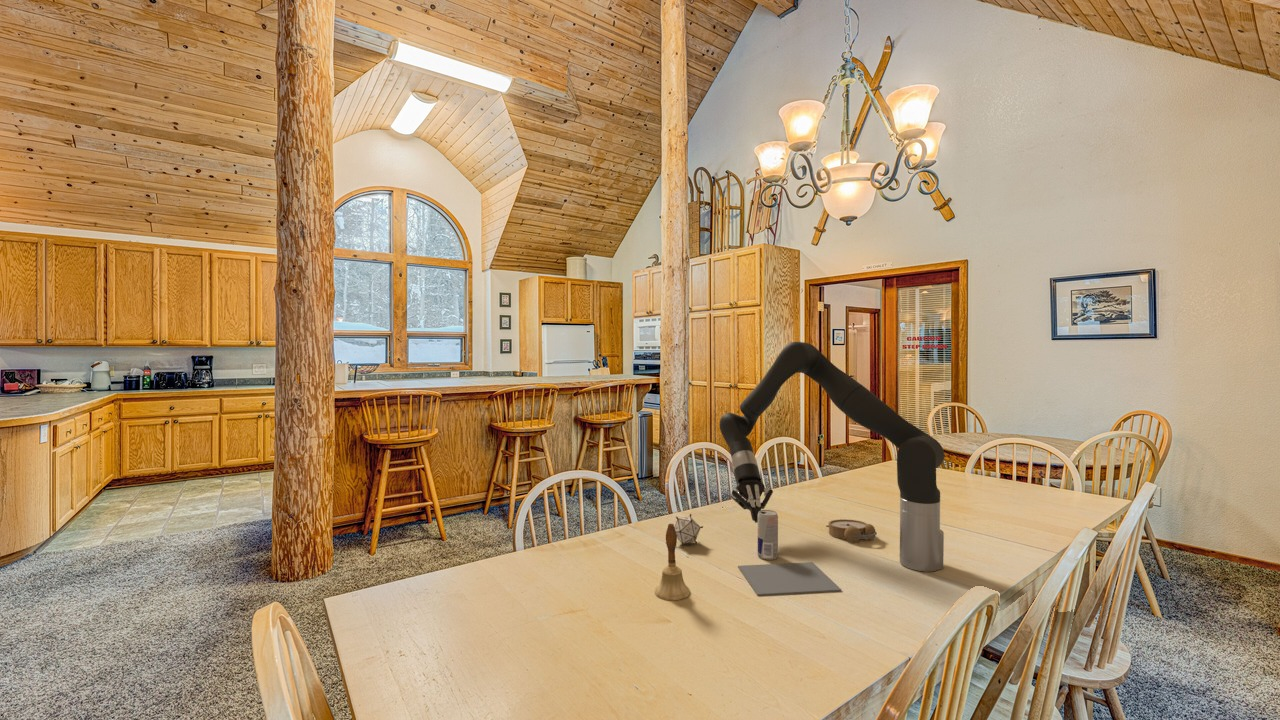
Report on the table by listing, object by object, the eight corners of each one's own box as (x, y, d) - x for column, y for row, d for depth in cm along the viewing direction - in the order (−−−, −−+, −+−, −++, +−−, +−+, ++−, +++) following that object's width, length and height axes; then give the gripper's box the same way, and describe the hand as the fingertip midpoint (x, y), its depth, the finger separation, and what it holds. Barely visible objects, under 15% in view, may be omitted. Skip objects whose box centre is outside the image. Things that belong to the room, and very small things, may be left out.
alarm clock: (849, 517, 170) (885, 523, 156) (851, 534, 170) (887, 541, 156) (820, 521, 167) (853, 528, 153) (821, 538, 166) (855, 546, 152)
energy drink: (763, 551, 150) (763, 508, 150) (781, 555, 147) (781, 512, 147) (754, 557, 146) (754, 513, 146) (772, 562, 143) (772, 516, 142)
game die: (692, 558, 155) (704, 537, 150) (664, 547, 155) (676, 526, 150) (696, 533, 163) (708, 512, 157) (669, 523, 163) (680, 502, 157)
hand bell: (660, 602, 121) (660, 531, 120) (650, 587, 129) (649, 520, 128) (695, 598, 123) (695, 528, 122) (683, 582, 131) (682, 517, 130)
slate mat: (812, 563, 142) (812, 562, 142) (841, 591, 126) (841, 589, 126) (737, 567, 140) (737, 565, 140) (757, 595, 124) (757, 594, 124)
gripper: (726, 462, 163) (738, 515, 151) (769, 461, 164) (784, 514, 152) (722, 476, 168) (733, 528, 156) (763, 474, 170) (777, 526, 158)
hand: (758, 521), depth 154 cm, fingers closed
